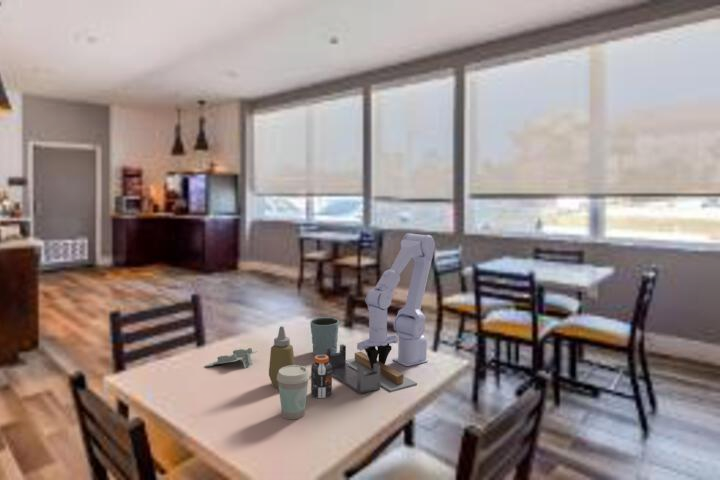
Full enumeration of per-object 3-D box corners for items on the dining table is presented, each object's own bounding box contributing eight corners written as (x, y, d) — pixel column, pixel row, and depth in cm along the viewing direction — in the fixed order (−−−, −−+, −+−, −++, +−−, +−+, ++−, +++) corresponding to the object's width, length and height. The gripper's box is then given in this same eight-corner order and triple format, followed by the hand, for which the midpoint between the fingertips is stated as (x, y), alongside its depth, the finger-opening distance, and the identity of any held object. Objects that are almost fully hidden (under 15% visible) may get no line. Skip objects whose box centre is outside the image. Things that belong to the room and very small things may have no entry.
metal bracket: (262, 344, 166) (230, 357, 153) (266, 360, 165) (235, 375, 152) (233, 348, 173) (200, 361, 160) (236, 364, 173) (204, 378, 160)
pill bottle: (328, 399, 135) (328, 361, 134) (308, 397, 136) (308, 359, 135) (334, 391, 141) (334, 353, 140) (314, 389, 142) (314, 352, 141)
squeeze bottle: (300, 381, 147) (300, 324, 145) (288, 392, 140) (287, 332, 138) (277, 378, 150) (276, 322, 148) (263, 388, 142) (262, 329, 140)
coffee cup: (295, 425, 120) (295, 379, 119) (270, 416, 125) (269, 372, 123) (316, 412, 128) (316, 368, 126) (291, 404, 132) (291, 362, 131)
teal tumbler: (344, 352, 174) (344, 319, 173) (327, 360, 166) (327, 326, 164) (321, 347, 180) (321, 315, 178) (304, 354, 171) (304, 322, 170)
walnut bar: (360, 358, 166) (360, 351, 165) (403, 382, 145) (403, 374, 145) (354, 359, 164) (354, 352, 164) (396, 384, 144) (396, 376, 144)
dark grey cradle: (342, 366, 161) (343, 344, 160) (380, 389, 142) (380, 364, 141) (324, 370, 157) (324, 347, 156) (360, 394, 139) (360, 369, 138)
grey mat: (366, 357, 169) (366, 355, 169) (417, 384, 146) (417, 383, 146) (342, 362, 164) (342, 360, 164) (390, 391, 140) (390, 390, 140)
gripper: (365, 333, 146) (365, 376, 147) (403, 326, 154) (403, 367, 155) (353, 327, 152) (353, 369, 153) (390, 321, 160) (390, 360, 161)
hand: (377, 367), depth 155 cm, fingers closed on walnut bar, 2 cm apart
